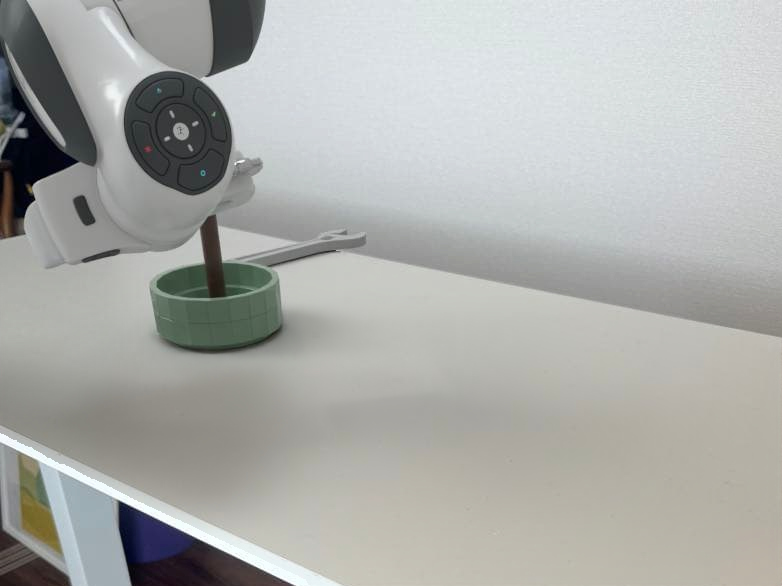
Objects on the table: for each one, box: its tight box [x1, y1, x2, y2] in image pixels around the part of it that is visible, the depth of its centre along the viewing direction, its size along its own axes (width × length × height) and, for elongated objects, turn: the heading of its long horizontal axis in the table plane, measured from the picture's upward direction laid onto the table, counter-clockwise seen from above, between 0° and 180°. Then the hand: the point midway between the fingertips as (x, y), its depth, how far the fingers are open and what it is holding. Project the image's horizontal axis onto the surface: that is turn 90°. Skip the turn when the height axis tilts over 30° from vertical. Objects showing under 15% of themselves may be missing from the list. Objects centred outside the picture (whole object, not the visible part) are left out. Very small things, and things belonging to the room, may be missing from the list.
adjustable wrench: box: [222, 228, 367, 267], centre depth 122 cm, size 25×6×2 cm, turn 127°
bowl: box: [148, 260, 284, 351], centre depth 96 cm, size 15×15×6 cm
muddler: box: [199, 214, 227, 298], centre depth 92 cm, size 4×4×17 cm
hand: (136, 227), depth 79 cm, fingers open, 8 cm apart
